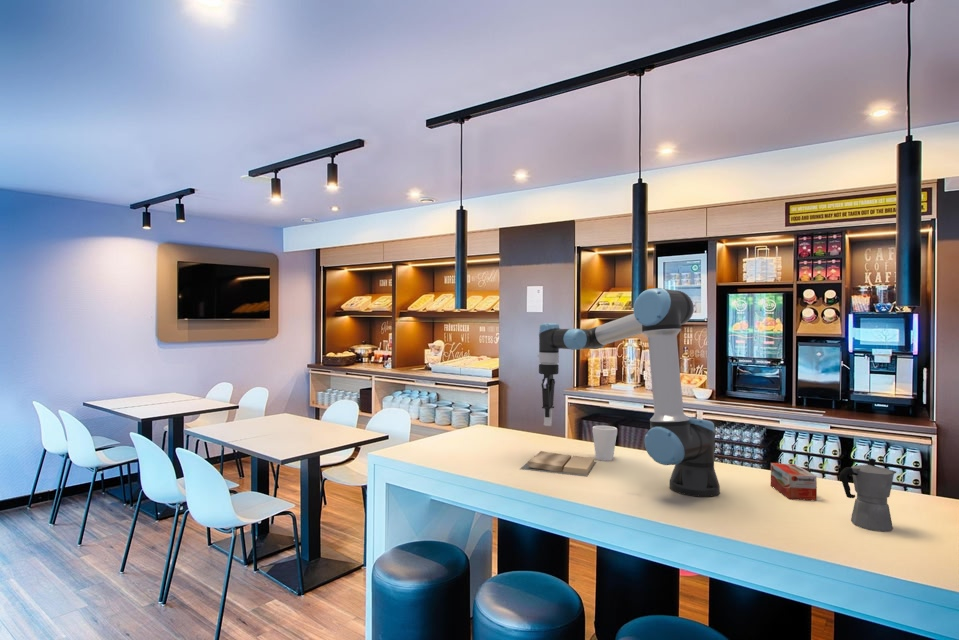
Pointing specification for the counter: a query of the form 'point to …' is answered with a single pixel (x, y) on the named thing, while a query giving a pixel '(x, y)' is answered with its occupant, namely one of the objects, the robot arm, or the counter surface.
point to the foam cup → (604, 442)
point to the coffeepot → (870, 495)
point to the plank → (549, 461)
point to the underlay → (571, 466)
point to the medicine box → (793, 481)
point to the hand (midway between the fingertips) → (547, 425)
